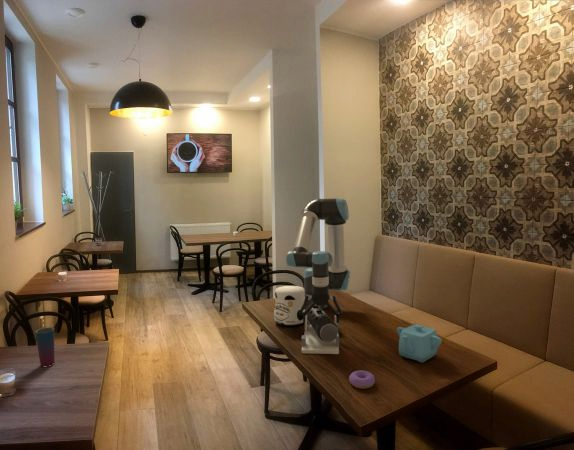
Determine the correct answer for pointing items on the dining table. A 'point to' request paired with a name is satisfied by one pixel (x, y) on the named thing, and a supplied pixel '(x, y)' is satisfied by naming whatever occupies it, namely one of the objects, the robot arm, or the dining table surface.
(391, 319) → the dining table surface
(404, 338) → the teapot
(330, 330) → the muzzle brake
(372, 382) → the donut
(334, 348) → the mounting board
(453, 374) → the dining table surface
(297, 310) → the milk container
